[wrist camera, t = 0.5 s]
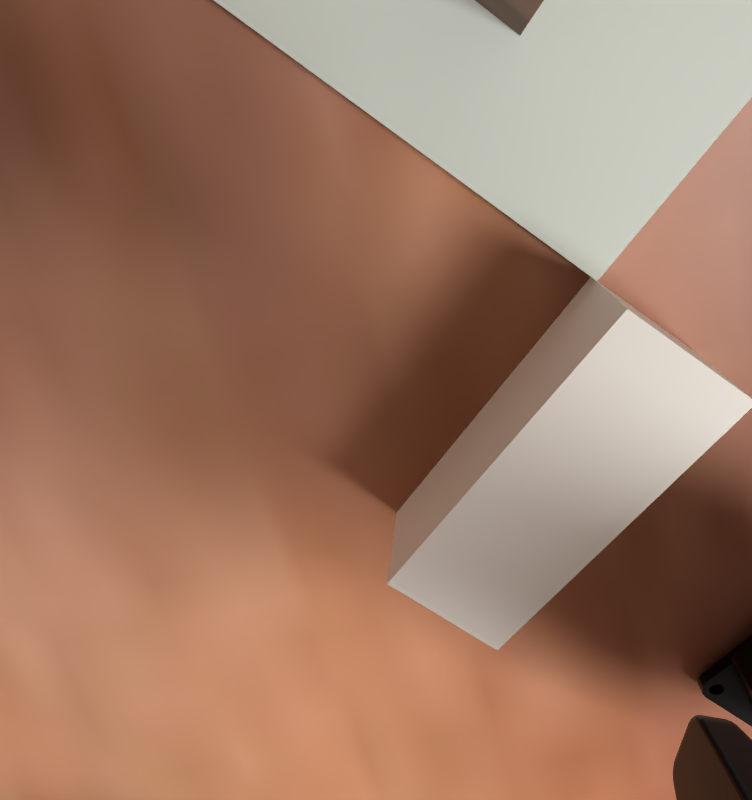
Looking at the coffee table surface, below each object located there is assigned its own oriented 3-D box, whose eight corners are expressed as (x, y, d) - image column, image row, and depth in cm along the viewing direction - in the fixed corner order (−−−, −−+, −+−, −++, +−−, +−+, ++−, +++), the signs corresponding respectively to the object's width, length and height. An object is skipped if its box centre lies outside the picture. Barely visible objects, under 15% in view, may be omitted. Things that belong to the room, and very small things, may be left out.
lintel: (694, 350, 18) (756, 402, 15) (488, 566, 22) (497, 650, 18) (589, 275, 18) (627, 309, 14) (397, 509, 21) (387, 583, 18)
